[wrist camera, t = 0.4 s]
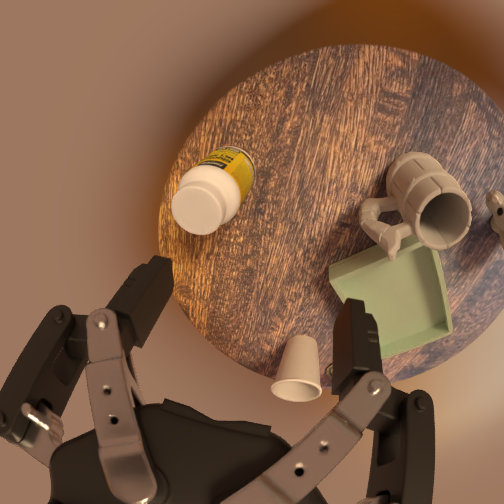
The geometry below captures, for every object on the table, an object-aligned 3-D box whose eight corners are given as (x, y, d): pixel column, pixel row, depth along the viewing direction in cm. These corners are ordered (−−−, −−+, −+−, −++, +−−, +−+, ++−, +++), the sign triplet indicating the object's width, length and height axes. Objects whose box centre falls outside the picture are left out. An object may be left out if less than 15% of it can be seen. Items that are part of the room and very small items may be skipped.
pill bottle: (245, 137, 29) (213, 167, 20) (264, 186, 32) (242, 235, 23) (198, 154, 31) (151, 190, 22) (217, 198, 34) (182, 248, 25)
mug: (445, 197, 27) (490, 254, 17) (363, 228, 32) (380, 295, 23) (431, 140, 24) (485, 178, 14) (341, 174, 29) (355, 227, 19)
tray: (328, 265, 36) (328, 281, 34) (424, 221, 29) (433, 235, 27) (376, 346, 45) (378, 361, 42) (448, 318, 38) (453, 332, 35)
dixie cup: (274, 332, 47) (264, 381, 39) (321, 328, 44) (318, 379, 36) (284, 357, 51) (277, 402, 43) (326, 355, 48) (324, 401, 40)
